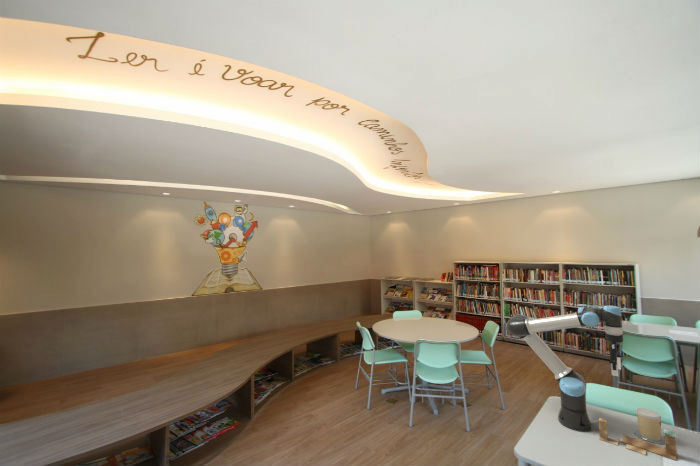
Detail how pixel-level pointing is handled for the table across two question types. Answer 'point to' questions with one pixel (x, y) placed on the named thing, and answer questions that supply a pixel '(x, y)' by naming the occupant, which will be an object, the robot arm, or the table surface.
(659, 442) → the coaster
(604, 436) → the broken strip
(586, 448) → the table surface
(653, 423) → the coffee cup
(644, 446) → the wooden l bracket
